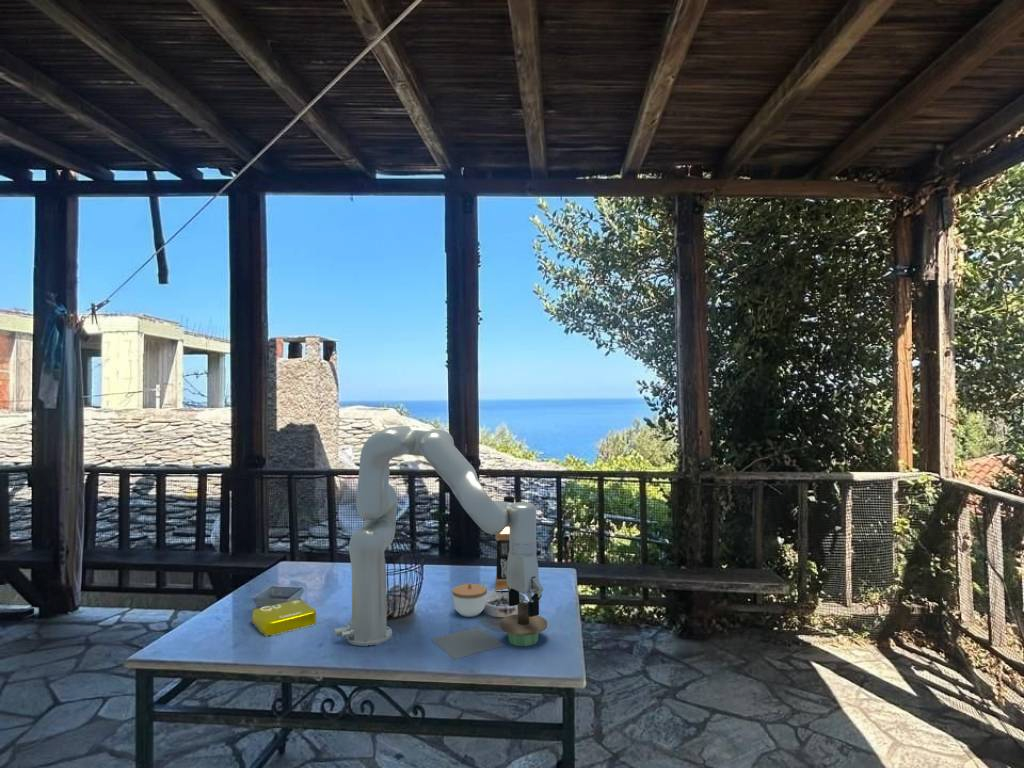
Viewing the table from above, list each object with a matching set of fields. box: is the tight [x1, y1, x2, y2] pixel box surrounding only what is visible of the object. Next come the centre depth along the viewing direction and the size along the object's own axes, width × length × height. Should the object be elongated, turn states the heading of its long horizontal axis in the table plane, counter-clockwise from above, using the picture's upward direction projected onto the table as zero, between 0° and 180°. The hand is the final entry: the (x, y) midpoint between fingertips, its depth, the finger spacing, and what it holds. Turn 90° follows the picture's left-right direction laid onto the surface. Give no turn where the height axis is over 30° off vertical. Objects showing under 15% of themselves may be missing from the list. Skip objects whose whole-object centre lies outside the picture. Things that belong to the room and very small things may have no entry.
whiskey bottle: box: [494, 495, 515, 591], centre depth 208 cm, size 10×10×32 cm
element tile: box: [252, 599, 317, 636], centre depth 176 cm, size 15×15×5 cm
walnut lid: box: [499, 601, 548, 635], centre depth 161 cm, size 13×13×6 cm
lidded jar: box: [451, 582, 488, 618], centre depth 182 cm, size 11×11×9 cm
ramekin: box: [507, 632, 539, 647], centre depth 161 cm, size 9×9×4 cm
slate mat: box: [430, 626, 506, 660], centre depth 160 cm, size 15×15×1 cm
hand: (523, 610), depth 161 cm, fingers open, 9 cm apart
